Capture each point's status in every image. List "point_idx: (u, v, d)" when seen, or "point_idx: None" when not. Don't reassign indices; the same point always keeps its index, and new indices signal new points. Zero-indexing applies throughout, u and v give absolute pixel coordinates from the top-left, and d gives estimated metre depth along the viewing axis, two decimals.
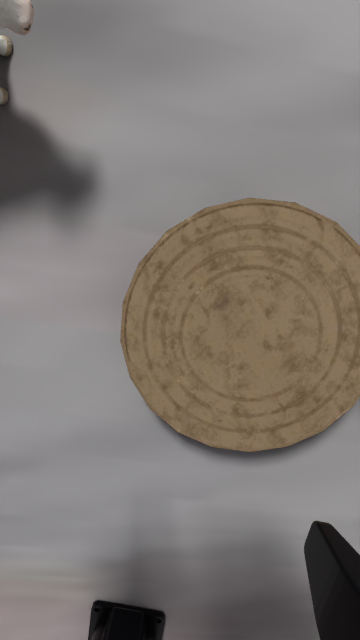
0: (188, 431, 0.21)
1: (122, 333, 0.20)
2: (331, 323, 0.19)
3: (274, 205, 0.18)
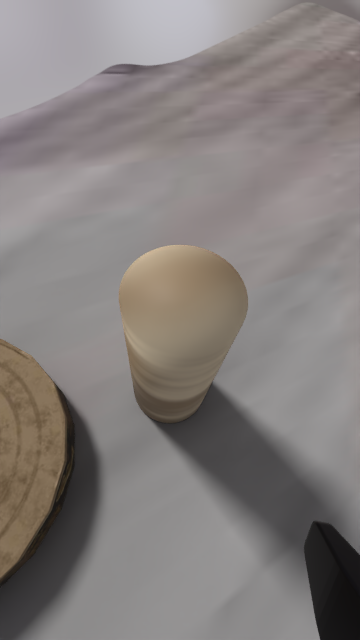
0: None
1: None
2: None
3: None
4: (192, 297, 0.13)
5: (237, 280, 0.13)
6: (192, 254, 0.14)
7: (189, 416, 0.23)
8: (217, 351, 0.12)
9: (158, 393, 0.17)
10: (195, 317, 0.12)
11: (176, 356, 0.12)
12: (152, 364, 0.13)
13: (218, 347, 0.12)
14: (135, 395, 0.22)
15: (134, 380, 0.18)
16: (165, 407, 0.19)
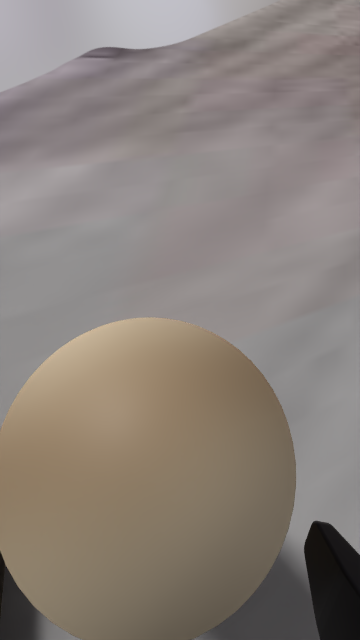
0: None
1: None
2: None
3: None
4: (168, 455, 0.06)
5: (268, 403, 0.06)
6: (171, 339, 0.07)
7: None
8: None
9: None
10: (173, 517, 0.05)
11: None
12: None
13: (230, 612, 0.05)
14: None
15: None
16: None
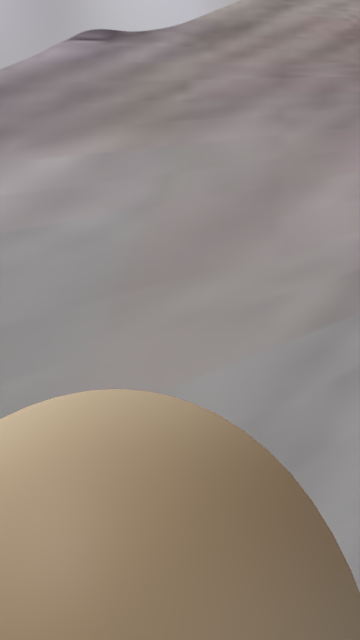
0: None
1: None
2: None
3: None
4: None
5: (327, 565, 0.03)
6: (149, 432, 0.04)
7: None
8: None
9: None
10: None
11: None
12: None
13: None
14: None
15: None
16: None
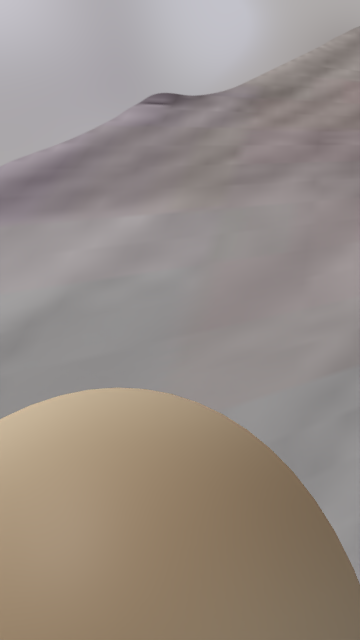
0: None
1: None
2: None
3: None
4: None
5: (329, 563, 0.03)
6: (152, 431, 0.04)
7: None
8: None
9: None
10: None
11: None
12: None
13: None
14: None
15: None
16: None
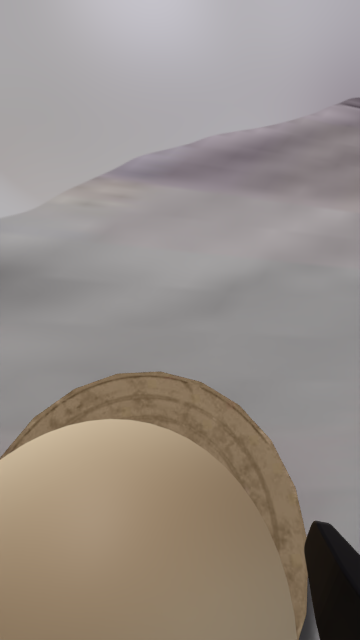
0: None
1: None
2: None
3: (141, 376, 0.19)
4: None
5: (261, 549, 0.05)
6: (135, 452, 0.05)
7: None
8: None
9: None
10: None
11: None
12: None
13: None
14: None
15: None
16: None
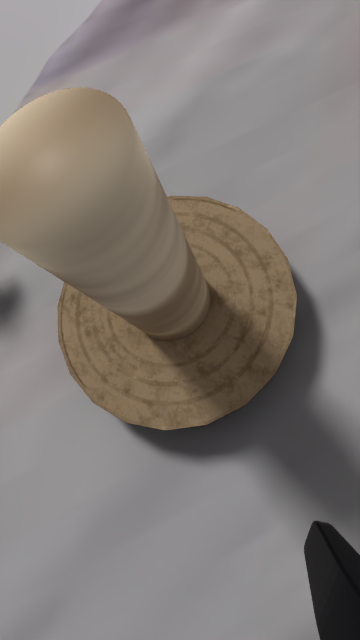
0: (173, 423, 0.19)
1: (69, 366, 0.21)
2: (221, 251, 0.21)
3: None
4: (59, 160, 0.09)
5: (112, 106, 0.09)
6: (47, 105, 0.10)
7: (201, 322, 0.20)
8: (116, 215, 0.09)
9: (124, 308, 0.14)
10: (68, 184, 0.09)
11: (63, 246, 0.09)
12: (66, 273, 0.10)
13: (108, 207, 0.08)
14: None
15: None
16: (154, 321, 0.16)
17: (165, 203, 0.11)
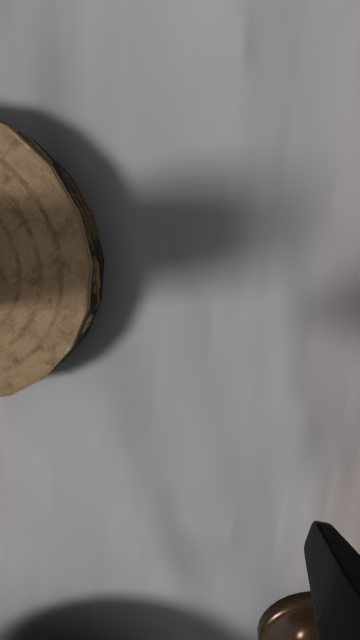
0: (68, 338, 0.18)
1: None
2: None
3: None
4: None
5: None
6: None
7: None
8: None
9: None
10: None
11: None
12: None
13: None
14: None
15: None
16: None
17: None
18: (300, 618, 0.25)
